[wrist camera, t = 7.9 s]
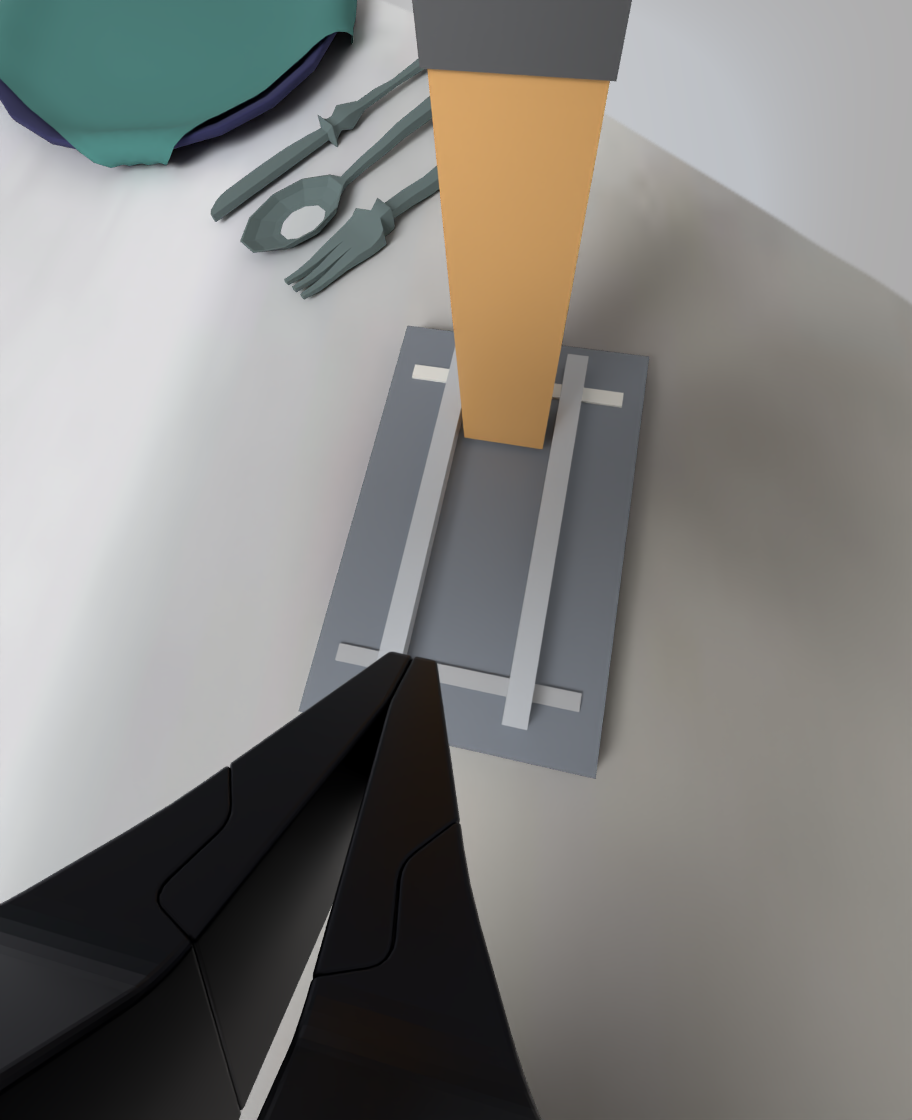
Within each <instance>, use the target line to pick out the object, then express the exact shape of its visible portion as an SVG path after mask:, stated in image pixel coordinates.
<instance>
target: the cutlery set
mask: <svg viewBox="0 0 912 1120" xmlns="http://www.w3.org/2000/svg"><path fill="white" fill-rule="evenodd" d="M356 7H357V0H0V100H1V102H2V103H3V105H4V107H5V108H6V110H7V111H8V113H9V115H10V116H11V117H12V118H13V119H14V120H15V121H16V122H18V123H19V124H21V125H23V126H24V127H26V128H27V129H29V130H31V131H32V132H34V133H35V134H37V135H39V136H40V137H42V138H44V139H45V140H47V141H48V142H50V143H52V144H54V145H59V146H64V147H69V148H73V149H77V150H78V151H79V152H80V153H82V154H83V155H84V156H86V157H87V158H89V159H90V160H91V161H93V162H94V163H97V164H100V165H103V166H106V167H110V168H113V167H117V166H120V165H128V166H132V165H136V164H141V163H143V164H146V165H152V164H157V163H162V164H164V165H167V163H168V161H169V159H170V156H171V153H172V151H173V149H175V148H178V147H182V146H186V145H189V144H193V143H196V142H200V141H203V140H207V139H210V138H214V137H217V136H221V135H223V134H225V133H227V132H229V131H231V130H232V129H234V128H236V127H238V126H240V125H242V124H244V123H245V122H247V121H249V120H251V119H253V118H255V117H257V116H258V115H260V114H262V113H264V112H266V111H268V110H270V109H271V108H273V107H274V106H276V105H277V104H278V103H279V102H280V101H281V100H282V99H283V98H284V97H286V96H287V95H288V94H289V93H290V92H291V91H292V90H293V89H294V88H296V87H297V86H298V85H299V84H300V83H301V82H302V81H303V80H304V79H306V78H307V77H308V76H309V75H310V74H311V73H312V72H313V71H314V70H315V69H316V67H317V66H318V64H319V62H320V61H321V59H322V57H323V55H324V54H325V52H326V50H327V49H328V47H329V45H330V44H331V42H332V40H333V39H334V37H335V35H336V33H337V32H348V33H349V34H351V35H352V39H351V45H352V43H353V27H354V23H355V19H356ZM422 70H424V69H423V68H420V66H419V59H417V60H416V61H415V62H413V63H412V64H411V65H410V66H408V67H407V68H406V69H405V70H403V71H402V72H401V73H400V74H398V75H397V76H396V77H395V78H393V79H392V80H390V81H388V82H387V83H385V84H383V85H381V86H379V87H377V88H375V89H374V90H372V91H371V92H369V93H368V94H367V95H365V96H364V97H362V98H361V99H360V100H358V101H355V102H350V103H345V104H340V105H336V107H335V110H334V112H333V114H332V116H331V117H329V118H327V119H323V118H322V117H320V116H319V115H318V118H319V122H320V126H321V128H320V129H319V130H317V131H315V132H313V133H311V134H309V135H307V136H305V137H304V138H302V139H300V140H299V141H297V142H295V143H293V144H292V145H290V146H288V147H287V148H285V149H284V150H282V151H281V152H279V153H278V154H276V155H275V156H273V157H272V158H270V159H269V160H268V161H266V162H265V163H263V164H262V165H260V166H259V167H258V168H256V169H255V170H253V171H252V172H251V173H249V174H248V175H247V176H245V177H244V178H243V179H241V180H240V181H238V182H237V183H236V184H234V185H233V186H232V187H230V188H229V189H228V190H226V191H225V192H224V193H223V194H222V195H221V196H220V197H219V198H218V199H217V201H216V202H215V204H214V206H213V208H212V209H211V216H212V217H213V219H214V221H215V222H217V221H218V220H220V219H221V218H222V217H224V216H225V215H226V214H228V213H229V212H231V211H232V210H233V209H235V208H236V207H237V206H239V205H240V204H242V203H243V202H244V201H246V200H247V199H248V198H250V197H251V196H253V195H254V194H255V193H257V192H258V191H260V190H261V189H262V188H264V187H265V186H266V185H268V184H269V183H271V182H272V181H273V180H275V179H276V178H277V177H279V176H280V175H282V174H283V173H284V172H286V171H287V170H288V169H290V168H291V167H293V166H294V165H295V164H297V163H298V162H299V161H301V160H302V159H304V158H305V157H306V156H308V155H309V154H310V153H312V152H313V151H315V150H316V149H317V148H319V147H320V146H321V145H323V144H324V143H326V142H327V141H330V142H331V143H332V144H334V145H335V146H336V147H338V142H337V139H338V136H339V134H340V133H341V131H342V130H349V129H353V128H354V126H355V125H356V123H357V122H358V120H359V118H360V117H361V115H362V114H363V112H364V110H365V109H367V108H368V107H370V106H371V105H372V104H374V103H375V102H377V101H378V100H379V99H381V98H382V97H383V96H385V95H386V94H387V93H388V92H390V91H391V90H392V89H394V88H395V87H396V86H398V85H399V84H401V83H402V82H404V81H406V80H407V79H409V78H411V77H412V76H414V75H416V74H417V73H419V72H421V71H422ZM430 119H432V110H431V100H430V96H429V97H428V98H427V99H426V100H424V101H423V102H422V103H421V104H420V105H418V106H417V107H416V108H415V109H414V110H412V111H411V112H410V113H409V114H407V115H406V116H405V117H404V118H403V119H401V120H400V121H399V122H398V123H396V124H395V125H394V126H393V127H392V128H391V129H390V130H389V131H388V132H387V133H386V134H385V135H384V136H383V137H382V138H381V139H380V140H379V141H378V142H377V143H376V144H375V145H374V146H373V147H371V148H370V149H369V150H368V151H367V152H366V153H365V154H364V155H362V156H361V157H360V158H359V159H358V160H357V161H356V162H355V163H354V164H353V165H352V166H351V167H350V168H349V169H348V170H347V171H346V172H345V173H344V174H343V175H342V176H341V177H339V176H334V175H324V176H317V177H311V178H305V179H301V180H299V181H297V182H295V183H293V184H292V185H290V186H288V187H286V188H284V189H282V190H280V191H278V192H276V193H275V194H273V195H272V196H271V197H270V198H269V199H268V200H267V201H266V202H265V203H264V204H263V205H262V206H261V207H260V208H259V209H258V210H257V211H256V212H255V213H254V214H253V215H252V216H251V217H250V218H249V220H248V223H247V225H246V228H245V230H244V233H243V235H242V238H241V241H240V242H242V243H243V244H244V245H245V246H246V247H247V248H248V249H250V250H251V251H252V252H253V253H256V252H265V251H272V250H279V249H286V248H292V247H294V246H296V245H298V244H299V243H301V242H303V241H305V240H307V239H309V238H311V237H313V236H315V235H316V234H318V233H319V232H320V231H321V230H322V229H323V228H324V227H325V226H326V224H327V223H328V222H329V221H330V220H331V219H332V218H333V217H334V216H335V214H336V212H337V208H338V204H339V201H340V197H341V193H342V192H343V191H344V189H345V188H346V187H347V186H348V185H349V184H350V183H351V182H352V181H353V180H354V179H356V178H357V177H358V176H359V175H360V174H361V173H362V172H364V171H365V170H366V169H367V168H368V167H370V166H371V165H372V164H374V163H375V162H376V161H378V160H379V159H380V158H381V157H383V156H384V155H385V154H386V153H388V152H389V151H390V150H391V149H392V148H393V147H395V146H396V145H397V144H398V143H399V142H400V141H401V140H403V139H404V138H405V137H407V136H408V135H409V134H411V133H412V132H414V131H415V130H416V129H418V128H419V127H421V126H422V125H424V124H425V123H426V122H428V121H429V120H430ZM437 190H439V179H438V169H437V166H436V167H435V168H434V169H432V170H431V171H430V172H429V173H427V174H426V175H425V176H424V177H423V178H421V179H419V180H418V181H416V182H415V183H413V184H411V185H410V186H408V187H407V188H405V189H403V190H402V191H401V192H399V193H398V194H396V195H395V196H394V197H392V198H391V199H390V200H388V201H387V202H385V203H384V202H382V201H381V200H380V199H378V198H377V200H376V202H375V204H374V206H373V208H372V210H365V209H358V208H356V209H355V211H354V213H353V215H352V217H351V218H350V219H349V220H348V222H347V223H346V224H345V225H344V226H343V227H342V228H341V229H340V230H339V231H338V232H337V233H336V234H335V235H334V236H333V237H331V238H330V239H329V240H328V241H327V242H326V243H325V244H324V245H323V246H322V247H321V248H320V250H319V251H318V252H317V253H316V254H315V255H314V256H313V257H312V258H311V259H310V260H309V261H307V262H306V263H305V264H304V265H303V266H302V267H301V268H299V269H298V270H297V271H296V272H294V273H293V274H291V275H290V276H289V277H287V278H286V279H284V280H285V283H287V284H288V285H289V284H291V283H293V282H295V281H297V280H299V279H301V278H303V277H305V276H306V275H307V274H309V273H310V272H311V271H312V272H311V273H310V274H309V275H307V276H306V277H305V278H304V279H302V280H301V281H299V282H298V283H297V284H295V285H294V286H292V288H293V290H294V291H296V292H298V291H299V290H301V289H303V288H305V287H307V286H309V285H311V284H313V283H314V282H315V281H317V280H318V279H319V278H320V279H319V280H318V281H317V282H316V283H315V284H313V285H312V286H311V287H309V288H308V289H306V290H305V291H304V292H302V293H301V294H300V295H301V297H302V298H303V299H306V298H308V297H310V296H312V295H314V294H316V293H317V292H319V291H321V290H322V289H323V288H325V287H326V286H327V285H329V284H330V283H331V282H333V281H334V280H335V279H337V278H338V277H339V276H341V275H342V274H343V273H345V272H346V271H347V270H349V269H351V268H352V267H354V266H356V265H357V264H359V263H361V262H362V261H364V260H366V259H367V258H369V257H370V256H372V255H374V254H375V253H376V252H377V251H379V250H380V249H381V248H382V247H384V246H385V245H386V240H385V236H386V235H388V234H389V233H390V232H391V231H392V230H393V229H394V228H395V226H394V218H395V217H397V216H398V215H400V214H401V213H403V212H404V211H406V210H407V209H409V208H410V207H412V206H413V205H415V204H416V203H418V202H420V201H421V200H423V199H425V198H427V197H428V196H430V195H432V194H433V193H435V192H436V191H437ZM314 205H319V206H320V207H321V208H322V209H324V210H325V217H324V220H323V221H322V222H321V223H320V224H319V225H318V226H317V227H316V228H315V229H314V230H313V231H311V232H309V233H307V234H305V235H303V236H302V237H300V238H297V239H289V240H287V239H286V238H285V237H284V236H283V235H282V234H280V233H281V228H282V224H283V222H284V221H285V220H286V219H287V217H288V216H289V215H290V214H291V213H292V212H294V211H296V210H298V209H300V208H302V207H304V206H314Z"/></svg>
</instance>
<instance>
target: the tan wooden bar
mask: <svg viewBox="0 0 912 1120" xmlns="http://www.w3.org/2000/svg"><path fill="white" fill-rule="evenodd" d="M631 2H632V0H412V3H413V12H414V21H415V30H416V39H417V48H418V57H419V66H420V68H423V69H427V70H428V80H429V90H430V100H431V110H432V119H433V129H434V139H435V149H436V159H437V169H438V179H439V189H440V199H441V209H442V219H443V229H444V239H445V249H446V259H447V269H448V279H449V289H450V299H451V309H452V319H453V329H454V339H455V349H456V358H457V368H458V378H459V388H460V398H461V408H462V418H463V428H464V437H465V438H471V439H478V440H484V441H491V442H497V443H504V444H510V445H517V446H523V447H530V448H536V449H543V444H544V438H545V433H546V427H547V422H548V416H549V411H550V405H551V400H552V394H553V389H554V384H555V378H556V373H557V367H558V362H559V356H560V351H561V345H562V340H563V334H564V329H565V323H566V318H567V312H568V307H569V301H570V296H571V291H572V285H573V280H574V274H575V269H576V263H577V258H578V252H579V247H580V241H581V236H582V230H583V225H584V219H585V214H586V209H587V203H588V198H589V192H590V187H591V181H592V176H593V170H594V165H595V159H596V154H597V148H598V143H599V137H600V132H601V127H602V121H603V116H604V110H605V105H606V99H607V94H608V88H609V83H610V81H616V79H617V74H618V69H619V64H620V59H621V54H622V49H623V43H624V39H625V33H626V28H627V23H628V18H629V13H630V7H631Z"/></svg>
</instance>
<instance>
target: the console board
mask: <svg viewBox="0 0 912 1120" xmlns="http://www.w3.org/2000/svg"><path fill="white" fill-rule="evenodd" d="M648 362H649V357H648V356H640V355H632V354H624V353H617V352H609V351H601V350H593V349H585V348H578V347H570V346H562V345H561V351H560V356H559V362H558V367H557V373H556V378H555V384H554V389H553V394H552V400H551V405H550V411H549V416H548V422H547V427H546V433H545V438H544V444H543V449H536V448H530V447H523V446H517V445H510V444H504V443H497V442H491V441H484V440H478V439H471V438H465V437H464V428H463V418H462V408H461V398H460V388H459V378H458V368H457V358H456V349H455V339H454V332H453V331H445V330H437V329H430V328H422V327H414V326H407V329H406V333H405V336H404V340H403V343H402V347H401V350H400V354H399V358H398V361H397V365H396V368H395V372H394V375H393V379H392V382H391V386H390V389H389V393H388V396H387V400H386V404H385V407H384V411H383V414H382V418H381V421H380V425H379V428H378V432H377V435H376V439H375V442H374V446H373V450H372V453H371V457H370V460H369V464H368V467H367V471H366V474H365V478H364V481H363V485H362V488H361V492H360V495H359V499H358V503H357V506H356V510H355V513H354V517H353V520H352V524H351V527H350V531H349V534H348V538H347V541H346V545H345V549H344V552H343V556H342V559H341V563H340V566H339V570H338V573H337V577H336V580H335V584H334V587H333V591H332V595H331V598H330V602H329V605H328V609H327V612H326V616H325V619H324V623H323V626H322V630H321V633H320V637H319V640H318V644H317V648H316V651H315V655H314V658H313V662H312V665H311V669H310V672H309V676H308V679H307V683H306V686H305V690H304V694H303V697H302V701H301V704H300V708H299V711H300V712H304V711H306V710H307V709H308V708H310V707H311V706H313V705H314V704H316V703H317V702H318V701H320V700H321V699H323V698H324V697H325V696H327V695H328V694H330V693H331V692H333V691H334V690H335V689H337V688H338V687H340V686H341V685H343V684H344V683H345V682H347V681H348V680H350V679H351V678H352V677H354V676H355V675H357V674H358V673H360V672H361V671H362V670H364V669H365V668H367V667H368V666H370V665H371V664H372V663H374V662H375V661H377V660H378V659H379V658H381V657H382V656H384V655H385V654H387V653H388V652H398V653H403V654H407V655H411V656H412V658H414V657H422V658H427V659H432V660H435V661H436V662H437V665H438V671H439V678H440V685H441V692H442V699H443V706H444V713H445V720H446V727H447V734H448V741H449V746H454V747H458V748H462V749H467V750H471V751H476V752H480V753H484V754H489V755H493V756H498V757H502V758H506V759H511V760H515V761H519V762H524V763H528V764H533V765H537V766H541V767H546V768H550V769H555V770H559V771H563V772H568V773H572V774H577V775H581V776H585V777H590V778H594V779H596V771H597V764H598V756H599V748H600V740H601V732H602V724H603V716H604V708H605V701H606V693H607V685H608V677H609V669H610V661H611V653H612V646H613V638H614V630H615V622H616V614H617V606H618V598H619V591H620V583H621V575H622V567H623V559H624V551H625V543H626V535H627V528H628V520H629V512H630V504H631V496H632V488H633V480H634V473H635V465H636V457H637V449H638V441H639V433H640V425H641V417H642V410H643V402H644V394H645V386H646V378H647V370H648Z"/></svg>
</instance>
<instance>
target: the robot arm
mask: <svg viewBox="0 0 912 1120" xmlns="http://www.w3.org/2000/svg"><path fill="white" fill-rule="evenodd" d="M459 822H460V818H459V811H458V804H457V797H456V790H455V783H454V776H453V769H452V762H451V755H450V748H449V741H448V734H447V727H446V720H445V713H444V706H443V699H442V692H441V685H440V678H439V671H438V665H437V662H436V661H435V660H432V659H427V658H422V657H414V658H412V656H411V655H407V654H403V653H398V652H388V653H387V654H385V655H384V656H382V657H381V658H379V659H378V660H377V661H375V662H374V663H372V664H371V665H370V666H368V667H367V668H365V669H364V670H362V671H361V672H360V673H358V674H357V675H355V676H354V677H352V678H351V679H350V680H348V681H347V682H345V683H344V684H343V685H341V686H340V687H338V688H337V689H335V690H334V691H333V692H331V693H330V694H328V695H327V696H325V697H324V698H323V699H321V700H320V701H318V702H317V703H316V704H314V705H313V706H311V707H310V708H308V709H307V710H306V711H304V712H303V713H301V714H300V715H298V716H297V717H296V718H294V719H293V720H291V721H290V722H289V723H287V724H286V725H284V726H283V727H281V728H280V729H279V730H277V731H276V732H274V733H273V734H272V735H270V736H269V737H267V738H266V739H264V740H263V741H262V742H260V743H259V744H257V745H256V746H254V747H253V748H252V749H250V750H249V751H247V752H246V753H245V754H243V755H242V756H240V757H239V758H237V759H236V760H235V761H233V762H232V763H231V764H230V768H229V767H224V768H223V769H221V770H220V771H219V772H217V773H216V774H214V775H213V776H211V777H210V778H209V779H207V780H206V781H204V782H203V783H201V784H200V785H198V786H197V787H195V788H194V789H192V790H191V791H189V792H188V793H186V794H185V795H183V796H182V797H181V798H179V799H178V800H176V801H175V802H173V803H172V804H170V805H168V806H167V807H165V808H164V809H162V810H160V811H159V812H157V813H155V814H154V815H152V816H150V817H149V818H147V819H146V820H144V821H142V822H141V823H139V824H137V825H136V826H134V827H132V828H131V829H129V830H128V831H126V832H124V833H122V834H121V835H119V836H117V837H116V838H114V839H112V840H110V841H109V842H107V843H105V844H104V845H102V846H100V847H98V848H97V849H95V850H93V851H92V852H90V853H88V854H86V855H85V856H83V857H81V858H80V859H78V860H76V861H74V862H73V863H71V864H69V865H68V866H66V867H64V868H63V869H61V870H59V871H57V872H56V873H54V874H52V875H51V876H49V877H47V878H45V879H44V880H42V881H40V882H39V883H37V884H35V885H33V886H32V887H30V888H28V889H27V890H25V891H23V892H21V893H19V894H18V895H16V896H14V897H12V898H10V899H9V900H7V901H5V902H3V903H1V904H0V1120H239V1118H240V1115H241V1112H240V1110H242V1109H243V1108H244V1106H245V1104H246V1101H247V1099H248V1097H249V1094H250V1092H251V1090H252V1088H253V1085H254V1083H255V1081H256V1078H257V1076H258V1074H259V1072H260V1069H261V1067H262V1065H263V1062H264V1060H265V1058H266V1055H267V1053H268V1051H269V1049H270V1046H271V1044H272V1042H273V1039H274V1037H275V1035H276V1033H277V1030H278V1028H279V1026H280V1023H281V1021H282V1019H283V1016H284V1014H285V1012H286V1010H287V1007H288V1005H289V1003H290V1000H291V998H292V996H293V994H294V991H295V989H296V987H297V984H298V982H299V980H300V977H301V975H302V973H303V971H304V968H305V966H306V964H307V961H308V959H309V957H310V955H311V952H312V950H313V948H314V945H315V943H316V941H317V938H318V936H319V934H320V932H321V929H322V927H323V925H324V922H325V920H326V918H327V916H328V913H329V911H330V909H331V912H330V915H329V919H328V922H327V926H326V930H325V933H324V937H323V940H322V944H321V947H320V951H319V954H318V958H317V962H316V965H315V969H314V972H313V980H312V981H311V984H310V987H309V991H308V994H307V997H306V1001H305V1004H304V1007H303V1010H302V1013H301V1016H300V1019H299V1022H298V1025H297V1028H296V1031H295V1034H294V1037H293V1040H292V1042H291V1044H290V1047H289V1049H288V1051H287V1054H286V1056H285V1058H284V1060H283V1063H282V1065H281V1067H280V1069H279V1071H278V1074H277V1076H276V1078H275V1080H274V1083H273V1085H272V1087H271V1089H270V1092H269V1094H268V1096H267V1098H266V1101H265V1103H264V1105H263V1107H262V1109H261V1112H260V1114H259V1116H258V1118H257V1120H542V1119H541V1117H540V1115H539V1113H538V1110H537V1108H536V1105H535V1103H534V1100H533V1097H532V1095H531V1092H530V1089H529V1087H528V1084H527V1081H526V1078H525V1076H524V1073H523V1069H522V1066H521V1063H520V1060H519V1057H518V1054H517V1051H516V1048H515V1045H514V1041H513V1038H512V1035H511V1031H510V1028H509V1024H508V1021H507V1017H506V1014H505V1010H504V1007H503V1003H502V1000H501V996H500V992H499V989H498V985H497V982H496V978H495V975H494V971H493V968H492V964H491V961H490V957H489V954H488V950H487V946H486V943H485V939H484V936H483V932H482V929H481V925H480V921H479V917H478V913H477V909H476V905H475V901H474V897H473V893H472V888H471V884H470V879H469V873H468V868H467V862H466V857H465V851H464V845H463V838H462V831H461V825H460V824H459ZM332 904H333V905H332ZM331 906H332V908H331Z"/></svg>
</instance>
